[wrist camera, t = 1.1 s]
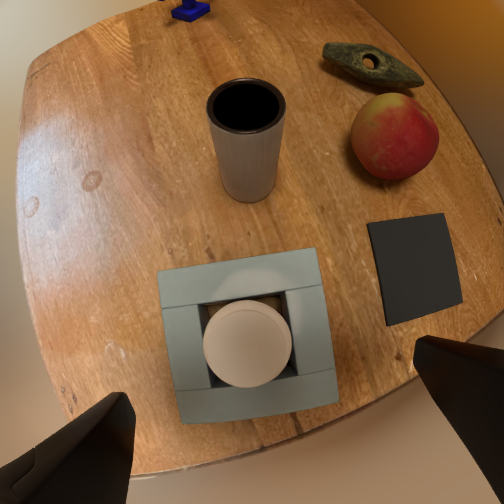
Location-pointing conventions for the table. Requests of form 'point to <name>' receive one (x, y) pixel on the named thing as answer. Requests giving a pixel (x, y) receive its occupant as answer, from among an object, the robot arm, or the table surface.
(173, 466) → the table surface
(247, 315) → the pill bottle
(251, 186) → the grey cylindrical tube
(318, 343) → the stand
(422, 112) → the apple
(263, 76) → the table surface
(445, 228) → the mat
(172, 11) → the figurine
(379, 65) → the decorative stone
